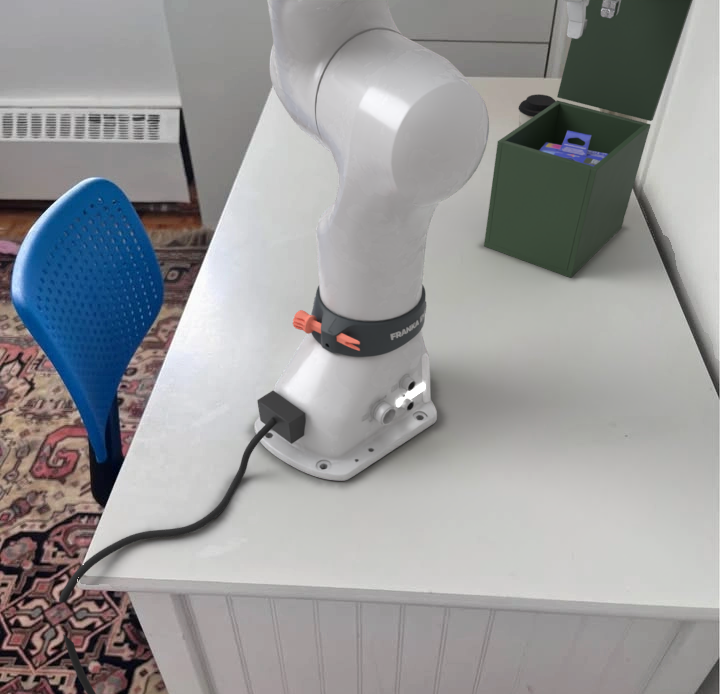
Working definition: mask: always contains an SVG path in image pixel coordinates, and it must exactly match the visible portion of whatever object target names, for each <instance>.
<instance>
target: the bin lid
mask: <svg viewBox="0 0 720 694" xmlns="http://www.w3.org/2000/svg"><path fill="white" fill-rule="evenodd" d="M602 3H603V0H589V4H588V6H586V17H585V19H587V20H588V22H587V27H586V32H585V34H584V35H583V36H581V37H580V38H578V39H574V38H570V42H569V43H570V44H569V47H568V50H567V51H568V52H567V55H566V60H565V64H564V68H563V72H562V76H561V79H560V84H559V87H558V92H557V96H556V97H557V98H559V99H563V100H566V101H570V102H574V103H578V104H582V105H585V106H590V107H594V108H598V109H601V110H606V111H610V112H614V113H618V114H621V115H625V116H629V117H632V118H637V119H641V120H644V121H645V120H646V121H649V122H653V121H654V118H655V115H656V111H657V109H658V106H659V103H660V100H661V96H662V94H663V91H664V88H665V84H666V82H667V78H668V76H669V73H670V70H671V67H672V64H673V60H674V58H675V55H676V51H677V49H678V45H679V43H680V40H681V37H682V33H683V30H684V28H685V25H686V21H687V19H688V16H689V13H690V10H691V7H692V4H693V0H621V3H620V7H619V12H618V14H617V15H615V16H614V17H612V18H607V17H602V16H601V9H602Z"/></svg>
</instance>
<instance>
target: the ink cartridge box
mask: <svg viewBox="0 0 720 694" xmlns="http://www.w3.org/2000/svg"><path fill="white" fill-rule="evenodd" d="M570 138H579V139H581V140H583V141H584V142H585V145H584V146H580V145H576V144H571V143H568V139H570ZM590 139H591V135H587V134H582V133H577V132H573V131H567V133H566V136H565V138H564V141H563V143H562V145H558V144H553V143H548V142H546V143H545V144H544V146H543V147H542V148H541V149H540V150H539V151H543V152H546V153H550V154H553V155H556V156H560V157H563V158H567V159H570V160H574V161H577V162H580V163H584V164H587V165H591V166H593V167H594V166H595V165H596V164H597V163H598V162H600V161H601V160H602V159H603V158H604V157H606V156H607V155H608V154H607V153H601V152H596V151H591V150H588V147H589V144H590Z"/></svg>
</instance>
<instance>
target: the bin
mask: <svg viewBox="0 0 720 694" xmlns="http://www.w3.org/2000/svg"><path fill="white" fill-rule="evenodd" d="M555 101H556V102H555V103H553V104H552V105H550V106H549V107H547V108H546V109H544V110H543V111H541V112H540V113H538V114H537V115H535V116H534V117H533V118H531V119H530V120H528V121H527V122H525V123H524V124H522V125H521V126H519V125H518V127H516V128H515V129H513V130H512V131H511V132H509V133H508V134H506V135H505V136H503V137H502V138H500V139H499V140H497V143H496V144H497V145H496V152H495V160H494V168H493V175H492V182H491V189H490V197H489V204H488V211H487V212H488V213H487V219H486V228H485V235H484V242H483V247H485V248H488V249H490V250H494V251H496V252H499V253H502V254H504V255H507V256H509V257H513V258H515V259H518V260H521V261H524V262H527V263H529V264H532V265H535V266H537V267H540V268H542V269H545V270H548V271H551V272H554V273H555V274H560V275H563V276H565V277H568V278H572V277H573V276H574V275H575V274H576V273H578V272H579V270H580V269H581V268H582V267H583V266H585V265H586V263H588V262H589V261H590V260H591V259H592V258H593V257H594V256H595V255H596V254H597V253H598V252H599V251H600V250H601V249H602V248H603V247H604V246H605V245H606V244H607V243H608V242H609V241H610V240H611V239H612V238H613V237H614V236H615V235H616V234H617V233H618V232H619V231H620V230H621V229H622V227H623V224H624V220H625V217H626V214H627V209H628V206H629V204H630V199H631V196H632V192H633V189H634V188H633V187H634V185H635V182H636V177H637V175H638V171H639V167H640V164H641V161H642V157H643V153H644V149H645V146H646V143H647V140H648V135H649V132H650V129H651V125H652V124H651V123H647V122H643V121H640V120H636V119H631V118H629V117H628V118H627V117H623V116H620V115H616V114H612V113H608V112H604V111H600V110H596V109H592V108H588V107H585V106H580V105H577V104H573V103H569V102H566V101H561V100H555ZM567 131H573V132H577V133H582V134H587V135H591V139H590V144H589V147H588V150H591V151H596V152H601V153H607V154H608V155H607V156H606V157H604V158H603V159H602V160H601V161H600V162H598V163H597V164H596V165H595V166H594V167H593V166H591V165H587V164H584V163H580V162H577V161H574V160H570V159H567V158H563V157H560V156H556V155H553V154H550V153H546V152H543V151H539V150H540V149H541V148H542V147H543V146H544V144H545V143H546V142H548V143H553V144H558V145H562V143H563V141H564V138H565V136H566V133H567ZM568 143H571V144H576V145H580V146H584V145H585V142H584V141H583V140H581V139H579V138H570V139H568Z"/></svg>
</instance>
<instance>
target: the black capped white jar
mask: <svg viewBox="0 0 720 694" xmlns="http://www.w3.org/2000/svg"><path fill="white" fill-rule="evenodd" d="M556 101H557V100H555V98H553V97H552V96H549V95H548V94H547V95H546V94H531V95H529V96H526V99H524V100H522V101H521V102H520V103H519V106H518V107H517V108H518V111H519V115H518V127H519V126H521V125H522V124H524V123H525V122H527V121H528V120H530V119H531V118H533V117H534V116H535V115H537V114H538V113H540V112H541V111H543V110H544V109H546V108H547V107H549V106H550V105H552V104H553V103H555V102H556Z"/></svg>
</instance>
